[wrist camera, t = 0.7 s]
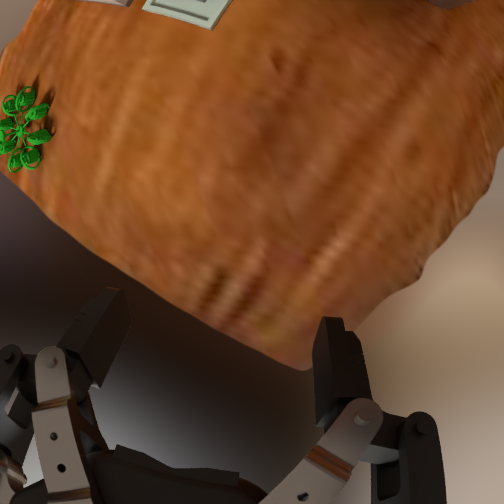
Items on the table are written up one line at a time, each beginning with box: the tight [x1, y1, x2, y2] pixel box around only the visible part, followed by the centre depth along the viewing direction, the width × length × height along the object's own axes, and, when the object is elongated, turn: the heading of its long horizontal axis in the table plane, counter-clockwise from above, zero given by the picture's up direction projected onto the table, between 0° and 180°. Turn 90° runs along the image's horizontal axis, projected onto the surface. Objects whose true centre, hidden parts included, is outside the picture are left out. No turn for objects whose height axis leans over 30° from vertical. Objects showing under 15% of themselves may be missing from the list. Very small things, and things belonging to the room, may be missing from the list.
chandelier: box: [0, 86, 51, 173], centre depth 29 cm, size 15×15×7 cm
